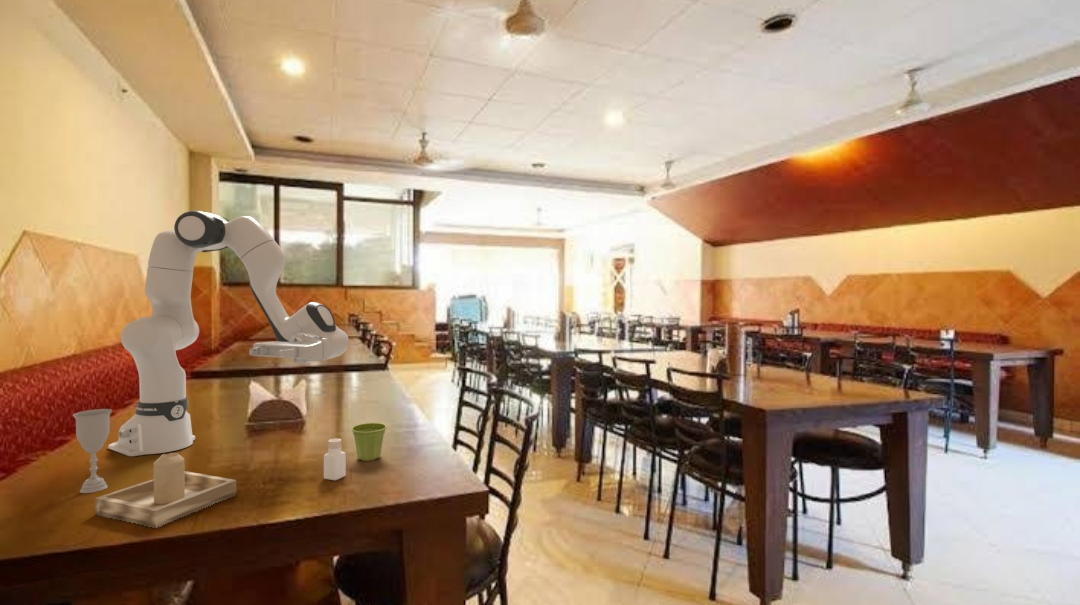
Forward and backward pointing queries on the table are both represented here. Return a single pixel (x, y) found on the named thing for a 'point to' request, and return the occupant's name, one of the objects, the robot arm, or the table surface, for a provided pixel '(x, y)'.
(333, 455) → the salt shaker
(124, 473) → the table surface
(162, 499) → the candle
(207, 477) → the tray
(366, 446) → the plant pot
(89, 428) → the chalice
